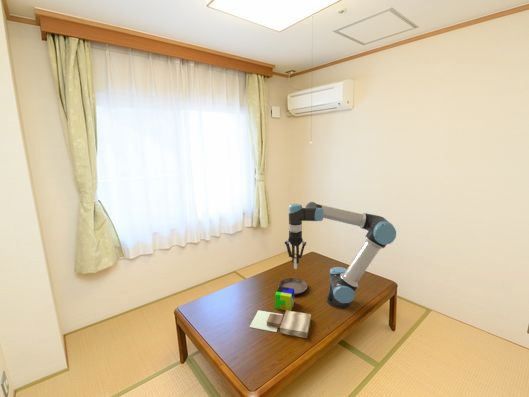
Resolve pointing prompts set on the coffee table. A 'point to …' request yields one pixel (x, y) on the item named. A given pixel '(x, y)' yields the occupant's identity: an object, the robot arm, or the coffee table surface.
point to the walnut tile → (274, 320)
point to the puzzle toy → (284, 298)
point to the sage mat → (263, 321)
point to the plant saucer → (294, 285)
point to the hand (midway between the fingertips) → (295, 268)
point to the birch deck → (295, 324)
